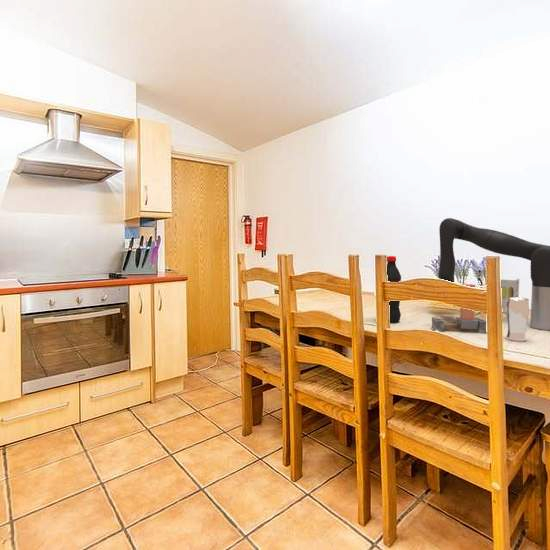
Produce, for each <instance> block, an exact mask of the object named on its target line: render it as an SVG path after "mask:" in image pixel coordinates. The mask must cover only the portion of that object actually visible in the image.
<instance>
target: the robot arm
mask: <svg viewBox="0 0 550 550" xmlns="http://www.w3.org/2000/svg"><path fill="white" fill-rule="evenodd" d="M454 240H459V241H464V242H468V243H472V244H474V245H475V246H477V247H479V248H481V249H484V250H486V251H489V252H492V253H495V254H499V255H503V256H509V257H514V258H515V257H516V258H521V259H524V260H528V261H530V279H531V301H530V305H531V306H530V321H529V324H530V325H529V327H531V328H532V329H538V330H542V331H543V330H544V331H550V245H546V244H542V243H536V242H531V241H528V240H526V239H523V238H520V237H517V236H514V235H513V234H512V235H511V234H509V233H505V232H502V231H498V230H494V229H490V228H482V227H481V228H480V227H477V226H473V225H470V224H468V223H466V222H463V221H461V220H459V219H456V218H451V217H447V218H444V219H443V220H442V221H441V222H440V225H439V267H438V279H439V280H441V279H444V280H443V281H445V280H448V281H451V282H455V271H456V258H455V252H454ZM453 307H454V308H456V307H455V306H453Z"/></svg>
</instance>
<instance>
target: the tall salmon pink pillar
mask: <svg viewBox="0 0 550 550" xmlns="http://www.w3.org/2000/svg"><path fill="white" fill-rule="evenodd" d="M461 284H462V285H466V286H470V287H475V288H476V285H475V284H473V283H461ZM459 309H460V311H459V316H457V317H456V321H455V323H456V324H460V328H462V329H478V320H476V319H474V318H475V313H476V312H475V311H472V310H468V309H463V308H460V307H459Z"/></svg>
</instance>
